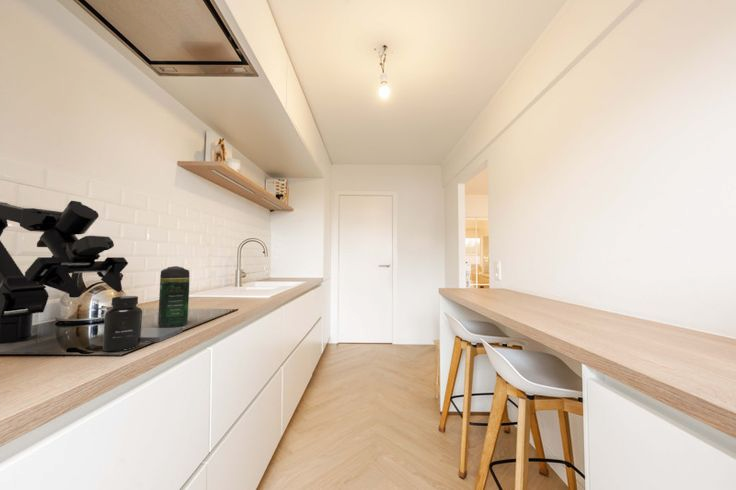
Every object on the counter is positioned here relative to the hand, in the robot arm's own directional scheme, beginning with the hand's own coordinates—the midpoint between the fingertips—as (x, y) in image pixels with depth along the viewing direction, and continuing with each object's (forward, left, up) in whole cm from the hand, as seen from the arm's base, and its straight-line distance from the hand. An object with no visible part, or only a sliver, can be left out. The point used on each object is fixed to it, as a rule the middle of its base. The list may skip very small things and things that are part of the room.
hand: (101, 293), depth 70 cm
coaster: (-4, +10, -13) cm, 17 cm away
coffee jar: (-18, +14, -13) cm, 26 cm away
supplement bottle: (+4, +5, -13) cm, 15 cm away
